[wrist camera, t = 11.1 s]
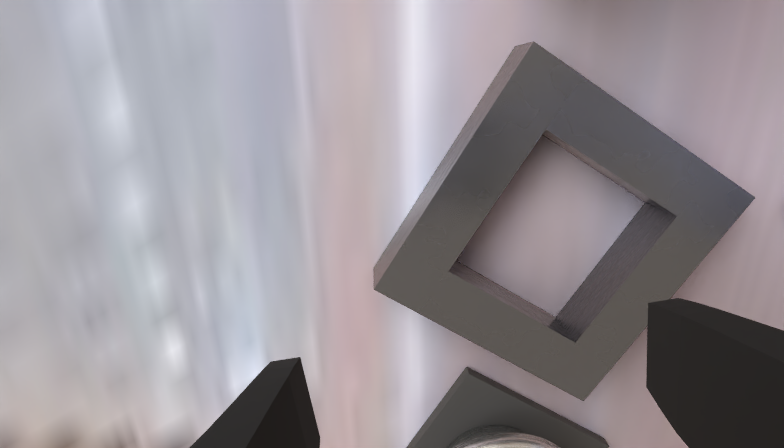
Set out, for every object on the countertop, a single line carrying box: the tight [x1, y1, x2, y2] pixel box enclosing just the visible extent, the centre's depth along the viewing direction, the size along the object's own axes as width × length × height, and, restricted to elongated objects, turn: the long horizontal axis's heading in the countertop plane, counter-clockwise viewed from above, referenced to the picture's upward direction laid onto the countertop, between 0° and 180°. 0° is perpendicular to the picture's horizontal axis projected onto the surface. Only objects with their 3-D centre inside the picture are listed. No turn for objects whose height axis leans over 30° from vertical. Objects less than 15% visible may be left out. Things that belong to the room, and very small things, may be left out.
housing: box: [374, 42, 755, 401], centre depth 18 cm, size 10×10×2 cm
